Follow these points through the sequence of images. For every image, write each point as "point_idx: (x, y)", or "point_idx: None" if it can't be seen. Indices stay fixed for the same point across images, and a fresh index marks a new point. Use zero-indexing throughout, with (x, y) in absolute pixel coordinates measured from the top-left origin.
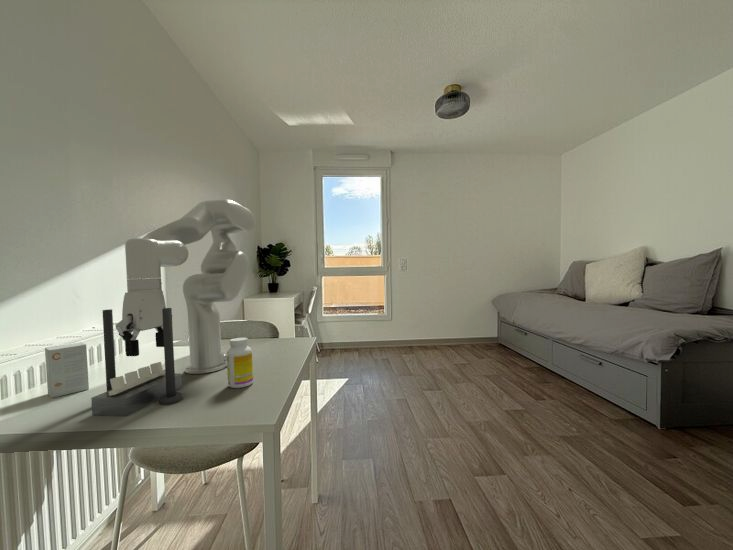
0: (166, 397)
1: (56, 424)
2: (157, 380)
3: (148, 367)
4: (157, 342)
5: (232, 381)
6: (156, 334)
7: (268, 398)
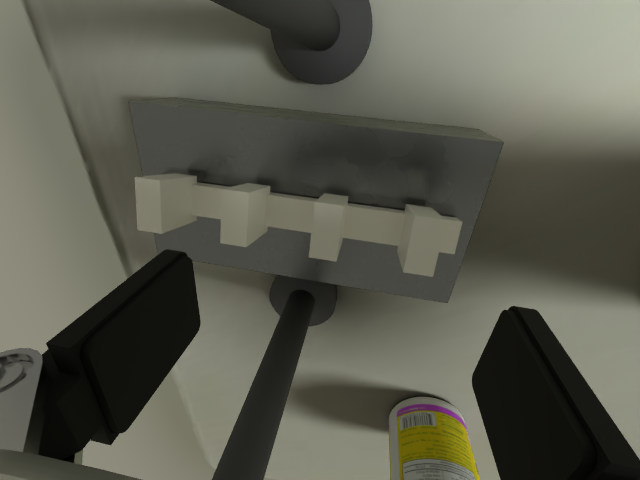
0: (288, 293)
1: (88, 20)
2: (351, 251)
3: (329, 257)
4: (513, 353)
5: (391, 427)
6: (565, 444)
7: (315, 465)
